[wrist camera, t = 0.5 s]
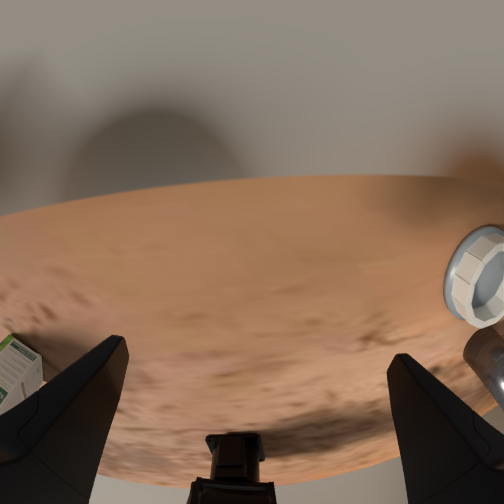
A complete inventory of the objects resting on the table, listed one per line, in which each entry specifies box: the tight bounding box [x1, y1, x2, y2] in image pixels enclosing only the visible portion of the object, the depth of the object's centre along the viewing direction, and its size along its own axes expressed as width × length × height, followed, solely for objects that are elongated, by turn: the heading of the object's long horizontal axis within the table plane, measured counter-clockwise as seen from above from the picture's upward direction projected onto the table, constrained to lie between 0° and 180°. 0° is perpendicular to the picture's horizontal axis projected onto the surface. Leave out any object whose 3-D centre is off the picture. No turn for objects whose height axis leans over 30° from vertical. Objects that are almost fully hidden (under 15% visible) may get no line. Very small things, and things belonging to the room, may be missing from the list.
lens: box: [463, 326, 504, 411], centre depth 22 cm, size 5×5×10 cm
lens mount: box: [443, 226, 504, 329], centre depth 22 cm, size 10×10×3 cm
